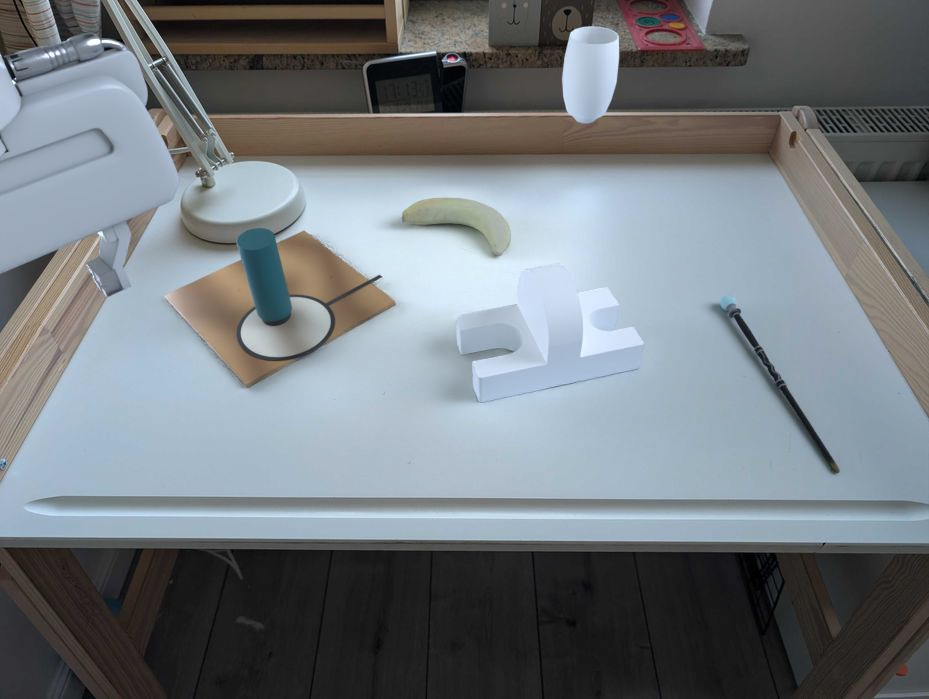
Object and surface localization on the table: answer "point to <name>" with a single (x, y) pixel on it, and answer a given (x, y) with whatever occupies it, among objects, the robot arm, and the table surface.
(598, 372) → the block with arch cutout
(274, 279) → the teal cylinder
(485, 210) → the fruit
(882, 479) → the table surface
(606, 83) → the cup
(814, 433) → the magic staff
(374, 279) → the brown flat square board
